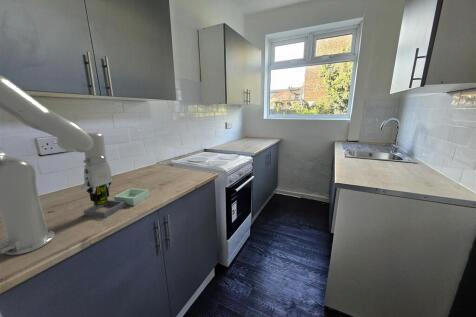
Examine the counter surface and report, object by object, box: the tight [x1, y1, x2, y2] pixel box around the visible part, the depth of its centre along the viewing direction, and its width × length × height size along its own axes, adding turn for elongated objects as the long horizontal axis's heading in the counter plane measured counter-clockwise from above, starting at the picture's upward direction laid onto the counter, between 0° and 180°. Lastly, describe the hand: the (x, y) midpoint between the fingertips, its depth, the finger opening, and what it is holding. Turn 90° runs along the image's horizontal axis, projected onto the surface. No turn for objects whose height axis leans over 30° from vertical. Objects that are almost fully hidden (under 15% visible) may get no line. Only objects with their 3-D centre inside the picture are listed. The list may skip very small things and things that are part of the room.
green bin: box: [113, 187, 151, 207], centre depth 105 cm, size 12×12×4 cm
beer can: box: [92, 184, 109, 207], centre depth 90 cm, size 5×5×12 cm
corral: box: [83, 199, 126, 219], centre depth 94 cm, size 12×12×2 cm
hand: (100, 198), depth 91 cm, fingers closed on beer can, 5 cm apart
